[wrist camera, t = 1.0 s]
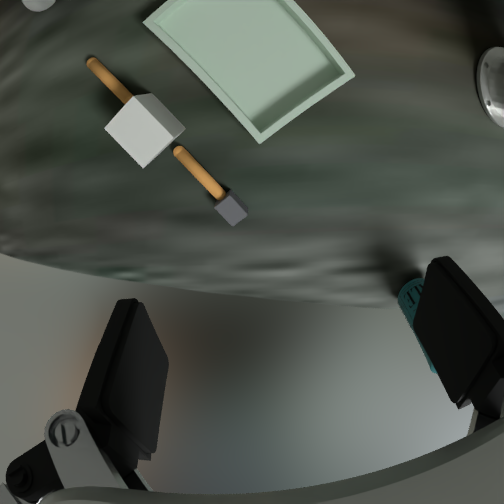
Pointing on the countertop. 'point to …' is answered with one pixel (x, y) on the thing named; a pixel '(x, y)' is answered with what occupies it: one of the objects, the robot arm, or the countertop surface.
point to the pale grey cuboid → (144, 128)
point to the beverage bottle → (412, 306)
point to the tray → (253, 56)
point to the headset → (38, 4)
